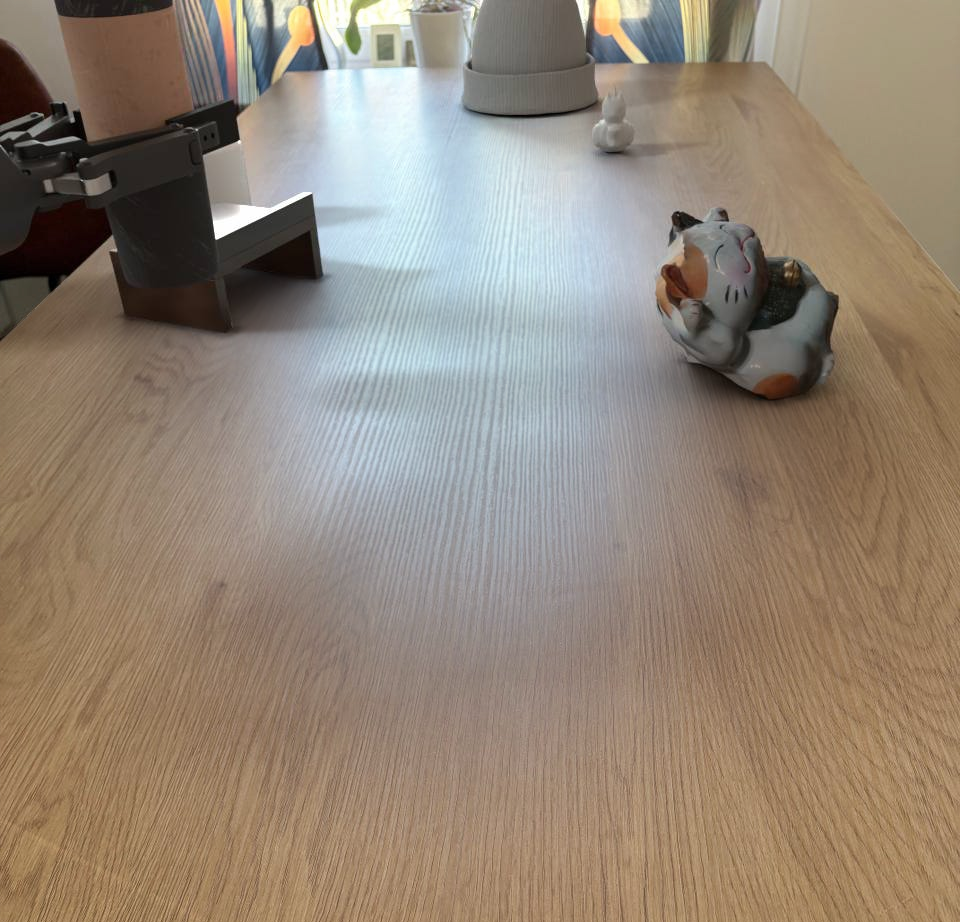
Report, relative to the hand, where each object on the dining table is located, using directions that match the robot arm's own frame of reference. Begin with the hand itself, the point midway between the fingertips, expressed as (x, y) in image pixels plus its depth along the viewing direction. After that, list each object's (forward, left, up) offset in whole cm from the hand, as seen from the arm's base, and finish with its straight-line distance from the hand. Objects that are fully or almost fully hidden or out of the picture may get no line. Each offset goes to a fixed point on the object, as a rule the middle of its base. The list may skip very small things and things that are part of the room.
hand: (186, 115), depth 79 cm
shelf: (-12, +14, -20) cm, 27 cm away
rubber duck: (+4, +75, -20) cm, 78 cm away
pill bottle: (-27, +32, -20) cm, 47 cm away
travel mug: (0, -5, -10) cm, 11 cm away
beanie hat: (-19, +98, -20) cm, 102 cm away
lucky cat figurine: (+39, +16, -20) cm, 47 cm away
